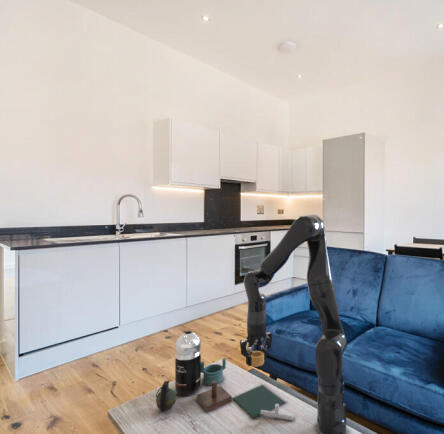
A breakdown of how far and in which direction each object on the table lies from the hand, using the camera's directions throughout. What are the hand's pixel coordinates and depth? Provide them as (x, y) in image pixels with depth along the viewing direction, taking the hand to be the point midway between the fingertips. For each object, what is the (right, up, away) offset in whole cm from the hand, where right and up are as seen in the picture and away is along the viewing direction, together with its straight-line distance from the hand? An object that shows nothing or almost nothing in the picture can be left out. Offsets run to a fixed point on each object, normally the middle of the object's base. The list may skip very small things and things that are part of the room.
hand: (256, 362), depth 121 cm
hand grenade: (-33, -15, -5) cm, 37 cm away
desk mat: (+1, -15, 0) cm, 16 cm away
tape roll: (0, 0, 0) cm, 0 cm away
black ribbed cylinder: (-30, -15, +7) cm, 35 cm away
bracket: (-22, -15, +15) cm, 31 cm away
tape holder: (-17, -15, 0) cm, 23 cm away
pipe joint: (+9, -16, -9) cm, 20 cm away
